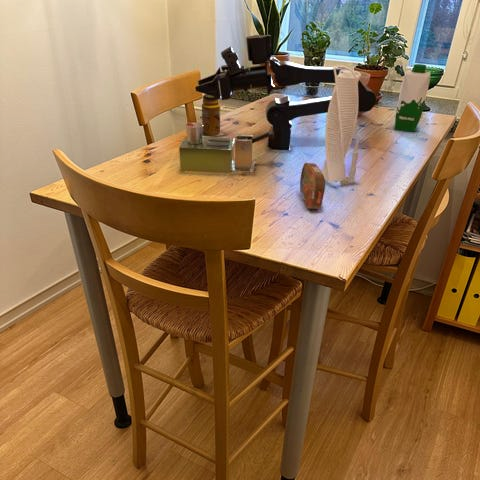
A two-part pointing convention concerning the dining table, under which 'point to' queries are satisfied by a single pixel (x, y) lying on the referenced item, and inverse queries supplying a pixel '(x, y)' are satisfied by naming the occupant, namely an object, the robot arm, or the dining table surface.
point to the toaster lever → (263, 136)
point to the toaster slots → (218, 145)
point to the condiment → (211, 116)
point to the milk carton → (412, 98)
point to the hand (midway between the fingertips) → (196, 85)
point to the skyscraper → (341, 127)
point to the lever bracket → (243, 155)
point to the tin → (312, 185)
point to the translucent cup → (194, 133)
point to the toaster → (207, 156)
